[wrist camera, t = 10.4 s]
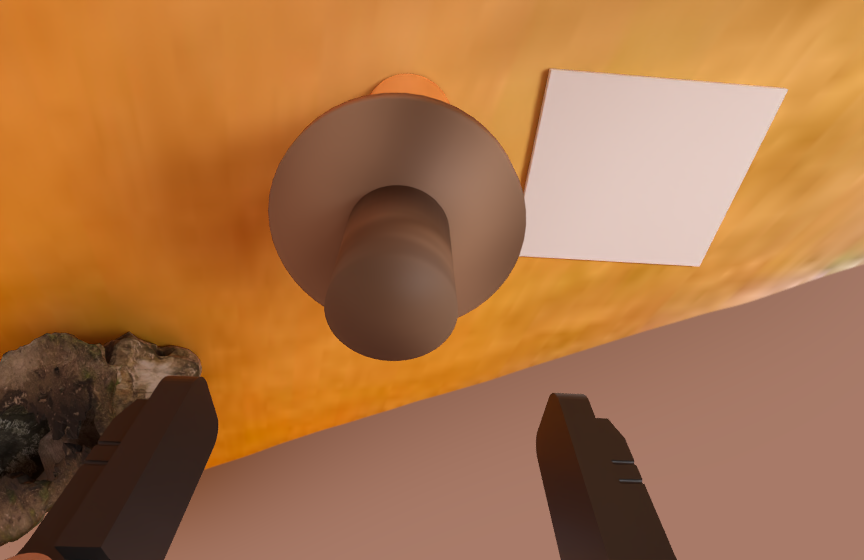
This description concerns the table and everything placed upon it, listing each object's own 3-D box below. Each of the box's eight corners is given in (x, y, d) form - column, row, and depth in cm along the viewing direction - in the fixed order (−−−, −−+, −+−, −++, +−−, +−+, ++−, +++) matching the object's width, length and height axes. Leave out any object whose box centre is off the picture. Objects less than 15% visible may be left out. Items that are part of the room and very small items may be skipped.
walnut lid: (545, 102, 16) (601, 162, 11) (500, 320, 21) (523, 423, 16) (257, 81, 15) (178, 134, 10) (289, 310, 21) (248, 415, 16)
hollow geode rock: (38, 393, 52) (51, 527, 49) (-123, 409, 40) (-121, 589, 37) (224, 316, 45) (254, 467, 42) (94, 307, 33) (121, 519, 30)
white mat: (783, 87, 30) (788, 89, 29) (696, 263, 38) (699, 266, 37) (549, 68, 29) (551, 69, 28) (511, 252, 37) (511, 255, 36)
